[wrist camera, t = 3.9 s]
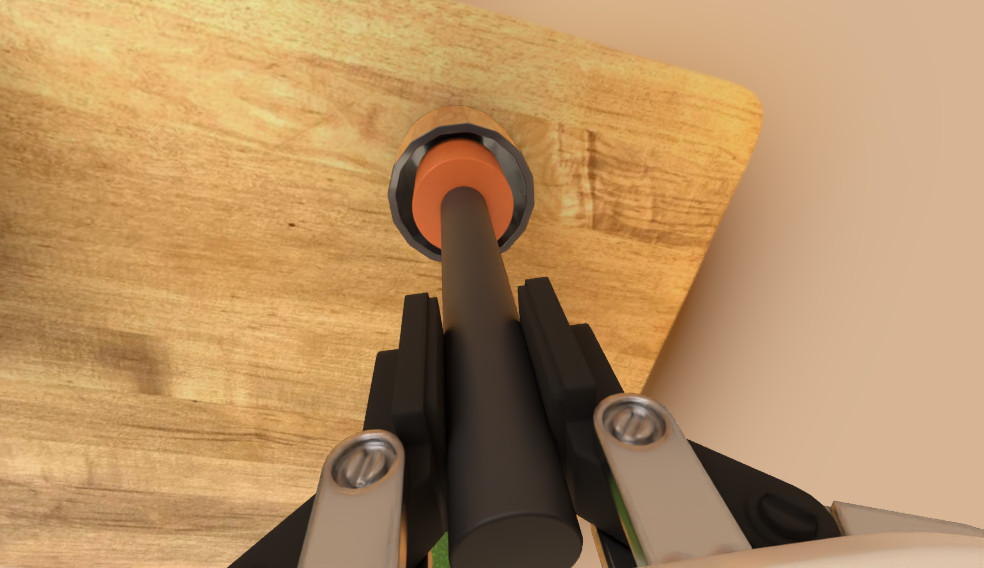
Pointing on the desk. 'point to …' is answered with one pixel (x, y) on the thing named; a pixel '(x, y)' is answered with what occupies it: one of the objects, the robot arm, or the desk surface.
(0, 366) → the desk surface
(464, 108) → the holder
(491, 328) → the rod with orange collar
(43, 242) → the desk surface
